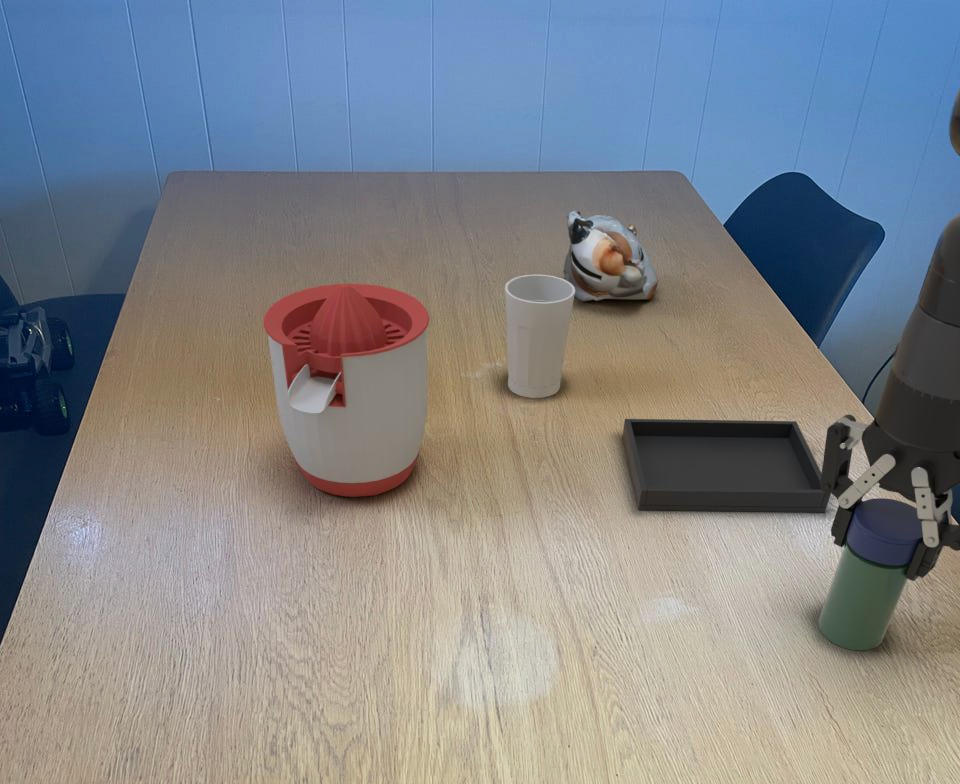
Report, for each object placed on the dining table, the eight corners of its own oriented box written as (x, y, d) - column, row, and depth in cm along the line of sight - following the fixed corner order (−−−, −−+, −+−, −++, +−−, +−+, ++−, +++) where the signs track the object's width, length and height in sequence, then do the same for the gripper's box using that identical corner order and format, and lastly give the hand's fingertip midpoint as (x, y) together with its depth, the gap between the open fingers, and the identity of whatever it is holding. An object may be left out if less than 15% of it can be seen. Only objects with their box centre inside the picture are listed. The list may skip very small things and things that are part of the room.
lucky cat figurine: (675, 294, 138) (684, 223, 125) (612, 344, 136) (614, 277, 123) (605, 234, 143) (605, 160, 130) (543, 282, 141) (537, 211, 128)
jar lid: (837, 521, 81) (845, 496, 80) (906, 522, 81) (916, 498, 80) (858, 565, 77) (867, 540, 75) (930, 566, 77) (941, 541, 75)
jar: (872, 608, 88) (912, 506, 80) (892, 651, 83) (936, 547, 76) (811, 608, 87) (845, 505, 80) (827, 650, 83) (865, 546, 76)
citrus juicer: (247, 501, 98) (215, 311, 84) (325, 420, 110) (308, 242, 97) (388, 535, 94) (378, 342, 81) (453, 447, 106) (453, 267, 93)
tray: (791, 439, 109) (796, 421, 107) (825, 512, 99) (831, 492, 97) (622, 437, 109) (624, 418, 107) (638, 510, 98) (641, 490, 97)
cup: (532, 408, 113) (539, 309, 105) (487, 382, 118) (490, 286, 109) (580, 387, 117) (589, 290, 109) (534, 363, 121) (540, 268, 113)
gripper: (1070, 388, 67) (980, 577, 79) (879, 323, 74) (822, 504, 86) (1029, 427, 63) (940, 620, 74) (830, 354, 70) (777, 540, 82)
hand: (877, 557), depth 80 cm, fingers closed on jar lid, 5 cm apart
